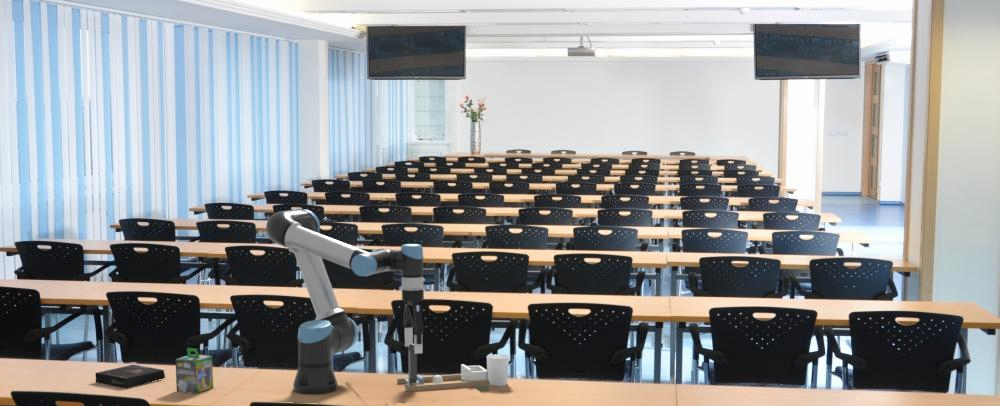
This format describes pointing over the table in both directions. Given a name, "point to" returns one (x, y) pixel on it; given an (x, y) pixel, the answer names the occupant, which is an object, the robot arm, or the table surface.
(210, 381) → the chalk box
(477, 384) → the pitch
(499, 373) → the white cup
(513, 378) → the table surface
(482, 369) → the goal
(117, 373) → the flat black box
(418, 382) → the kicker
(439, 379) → the ball
